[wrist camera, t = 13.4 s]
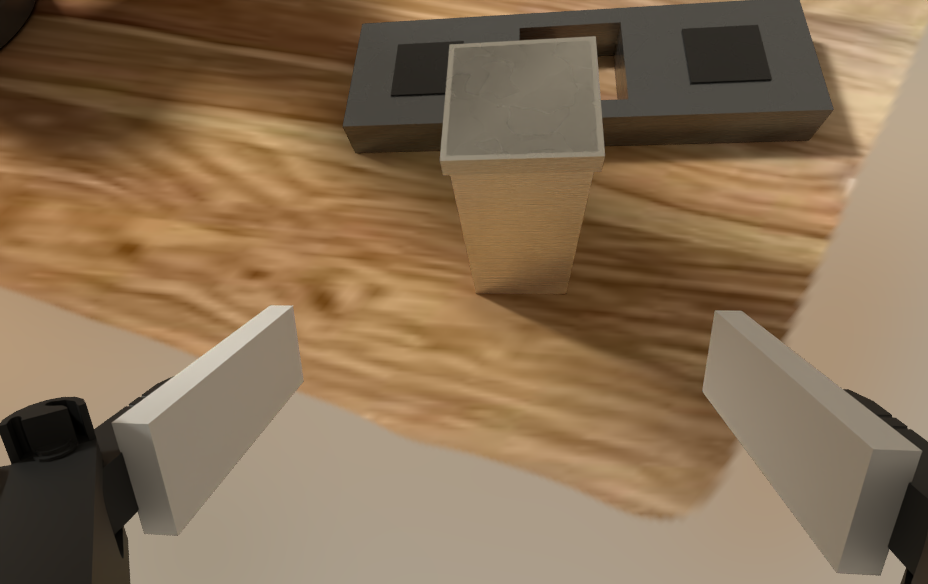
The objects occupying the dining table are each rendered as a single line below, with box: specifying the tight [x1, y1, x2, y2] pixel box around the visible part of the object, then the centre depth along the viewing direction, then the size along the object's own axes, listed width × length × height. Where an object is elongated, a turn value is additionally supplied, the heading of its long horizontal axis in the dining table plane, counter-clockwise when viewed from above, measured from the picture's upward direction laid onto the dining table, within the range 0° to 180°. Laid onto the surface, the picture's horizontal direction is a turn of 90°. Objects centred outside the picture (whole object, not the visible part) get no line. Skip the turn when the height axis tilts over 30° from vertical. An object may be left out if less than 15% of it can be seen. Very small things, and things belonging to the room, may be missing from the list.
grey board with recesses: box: [343, 0, 834, 153], centre depth 31 cm, size 28×9×3 cm, turn 87°
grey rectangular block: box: [440, 36, 605, 294], centre depth 22 cm, size 5×5×12 cm
